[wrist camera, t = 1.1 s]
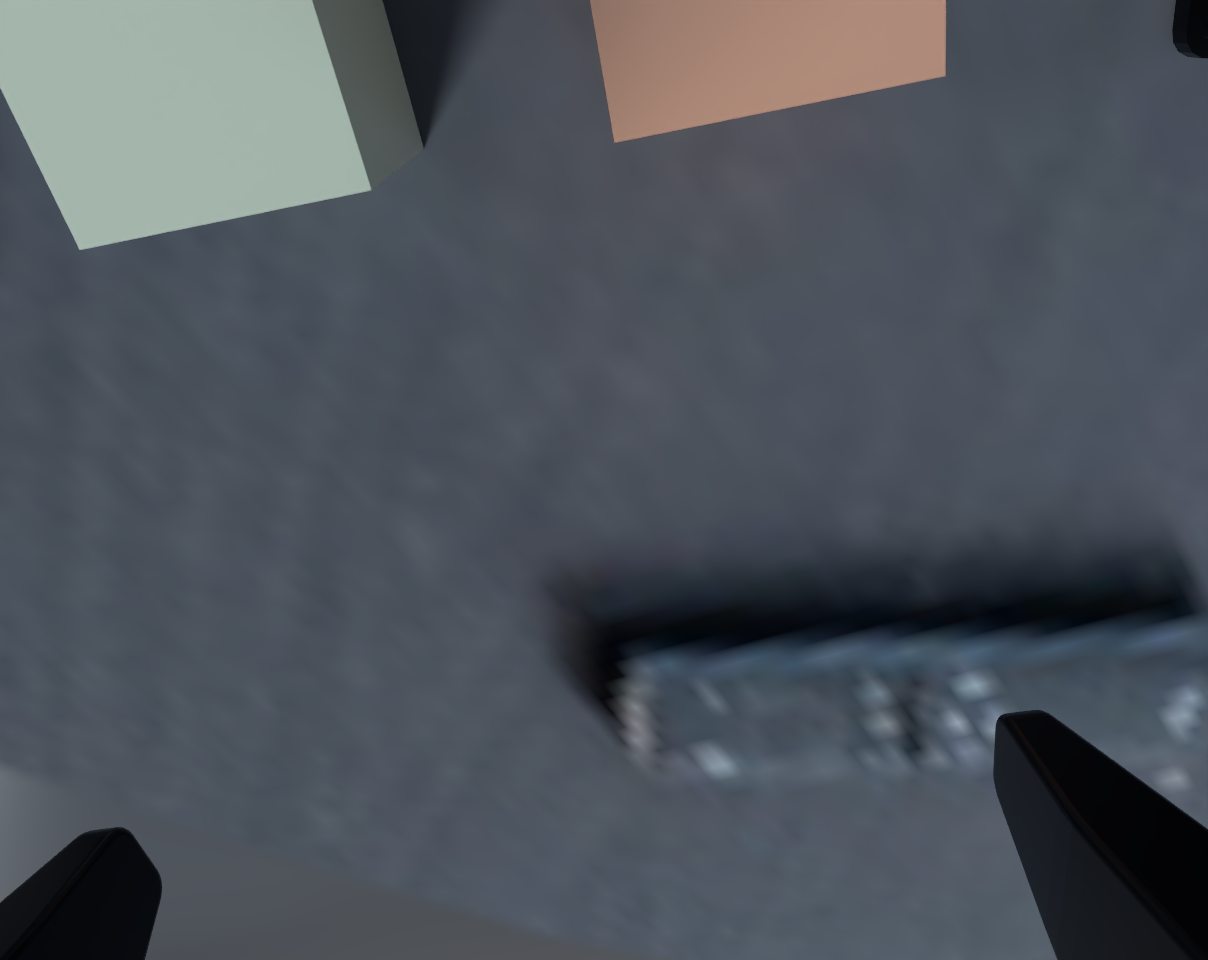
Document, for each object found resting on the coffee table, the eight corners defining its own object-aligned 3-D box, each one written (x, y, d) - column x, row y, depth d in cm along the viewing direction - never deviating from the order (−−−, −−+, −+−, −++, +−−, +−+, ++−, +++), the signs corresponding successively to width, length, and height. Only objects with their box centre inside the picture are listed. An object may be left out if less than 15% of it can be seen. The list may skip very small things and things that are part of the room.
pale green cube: (341, -150, 13) (248, -203, 10) (424, 148, 16) (371, 190, 12) (79, -86, 14) (-99, -115, 10) (195, 195, 16) (79, 249, 13)
